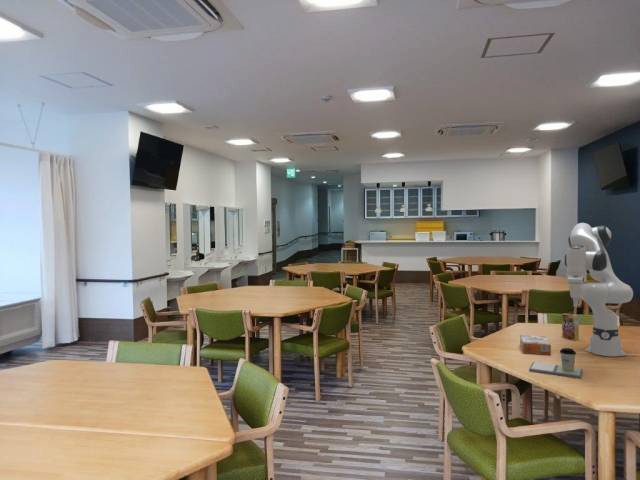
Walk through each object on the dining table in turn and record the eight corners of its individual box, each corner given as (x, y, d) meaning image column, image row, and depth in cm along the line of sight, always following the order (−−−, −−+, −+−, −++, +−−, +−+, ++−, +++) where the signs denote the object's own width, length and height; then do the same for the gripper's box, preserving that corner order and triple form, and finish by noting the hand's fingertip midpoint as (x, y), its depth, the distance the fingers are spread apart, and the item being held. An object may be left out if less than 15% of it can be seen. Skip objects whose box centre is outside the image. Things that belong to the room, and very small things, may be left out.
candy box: (561, 337, 287) (561, 313, 287) (566, 336, 289) (566, 313, 288) (574, 340, 279) (574, 316, 278) (579, 339, 280) (579, 315, 280)
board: (533, 363, 232) (533, 361, 232) (582, 370, 220) (582, 368, 220) (529, 371, 221) (529, 368, 220) (581, 378, 209) (581, 376, 209)
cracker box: (523, 342, 252) (519, 334, 271) (523, 353, 252) (519, 344, 271) (551, 344, 247) (545, 336, 267) (551, 355, 247) (545, 346, 267)
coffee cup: (570, 367, 221) (570, 347, 221) (579, 372, 214) (579, 351, 214) (556, 368, 221) (556, 347, 221) (565, 372, 214) (565, 351, 214)
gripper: (570, 275, 236) (570, 301, 236) (567, 279, 218) (567, 307, 219) (584, 276, 232) (584, 302, 232) (582, 279, 215) (582, 308, 215)
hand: (576, 305), depth 225 cm, fingers open, 8 cm apart
